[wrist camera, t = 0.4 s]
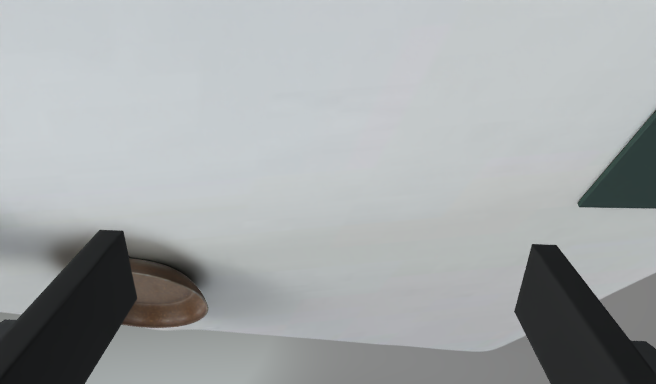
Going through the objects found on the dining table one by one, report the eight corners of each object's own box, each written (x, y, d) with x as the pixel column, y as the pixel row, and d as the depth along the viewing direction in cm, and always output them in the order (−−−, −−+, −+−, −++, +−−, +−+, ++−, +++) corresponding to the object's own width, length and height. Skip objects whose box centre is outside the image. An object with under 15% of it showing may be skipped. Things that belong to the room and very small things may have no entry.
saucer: (68, 233, 40) (58, 260, 39) (229, 267, 46) (225, 293, 44) (62, 291, 51) (54, 314, 50) (193, 313, 57) (189, 335, 55)
